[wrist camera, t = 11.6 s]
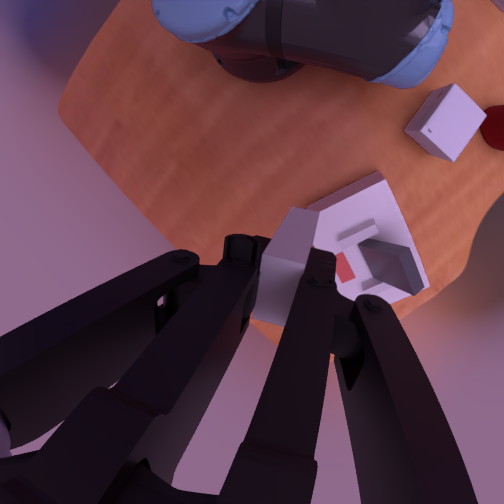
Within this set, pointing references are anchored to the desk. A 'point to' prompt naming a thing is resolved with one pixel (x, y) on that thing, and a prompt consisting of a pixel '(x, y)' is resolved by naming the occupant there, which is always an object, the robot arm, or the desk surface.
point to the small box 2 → (499, 4)
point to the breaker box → (362, 234)
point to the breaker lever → (392, 265)
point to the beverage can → (494, 127)
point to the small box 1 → (446, 122)
